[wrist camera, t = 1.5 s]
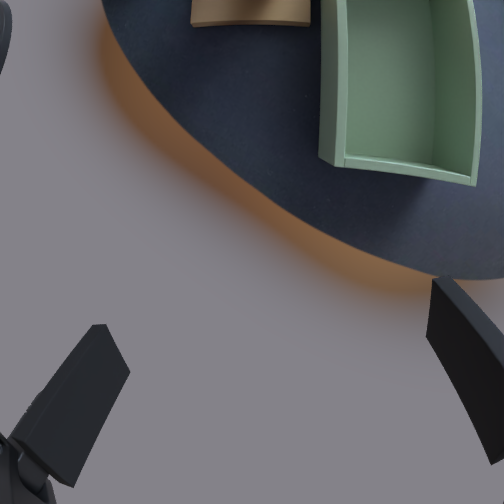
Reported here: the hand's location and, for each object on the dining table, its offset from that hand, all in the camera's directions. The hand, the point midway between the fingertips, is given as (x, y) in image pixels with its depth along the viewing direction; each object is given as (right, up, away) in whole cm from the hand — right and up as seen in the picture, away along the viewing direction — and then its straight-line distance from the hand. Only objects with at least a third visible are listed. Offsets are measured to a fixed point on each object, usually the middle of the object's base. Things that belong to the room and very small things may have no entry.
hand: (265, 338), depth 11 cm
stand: (-1, +31, +12) cm, 33 cm away
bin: (+13, +23, +14) cm, 30 cm away
